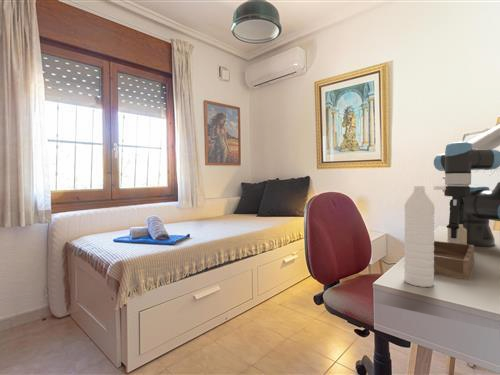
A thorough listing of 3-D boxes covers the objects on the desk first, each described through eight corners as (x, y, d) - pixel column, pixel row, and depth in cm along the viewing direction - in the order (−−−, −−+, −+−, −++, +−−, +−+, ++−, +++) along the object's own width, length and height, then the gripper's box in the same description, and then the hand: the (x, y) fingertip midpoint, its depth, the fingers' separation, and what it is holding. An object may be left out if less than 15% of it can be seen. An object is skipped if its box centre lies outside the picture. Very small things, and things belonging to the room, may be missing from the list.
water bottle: (403, 284, 68) (403, 186, 68) (405, 276, 74) (405, 185, 73) (445, 291, 64) (446, 186, 63) (444, 282, 69) (444, 185, 68)
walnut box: (429, 254, 96) (429, 240, 96) (473, 260, 88) (473, 245, 88) (415, 270, 79) (415, 253, 79) (468, 280, 71) (468, 261, 71)
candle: (470, 255, 94) (470, 226, 94) (452, 254, 95) (452, 226, 95) (461, 250, 100) (461, 224, 99) (444, 250, 101) (444, 223, 101)
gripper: (449, 185, 109) (447, 237, 109) (439, 185, 90) (437, 248, 91) (473, 185, 104) (471, 240, 104) (467, 185, 85) (466, 252, 86)
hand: (456, 244), depth 97 cm, fingers open, 13 cm apart
